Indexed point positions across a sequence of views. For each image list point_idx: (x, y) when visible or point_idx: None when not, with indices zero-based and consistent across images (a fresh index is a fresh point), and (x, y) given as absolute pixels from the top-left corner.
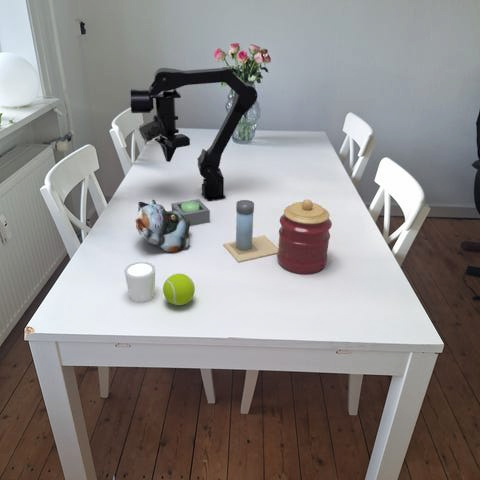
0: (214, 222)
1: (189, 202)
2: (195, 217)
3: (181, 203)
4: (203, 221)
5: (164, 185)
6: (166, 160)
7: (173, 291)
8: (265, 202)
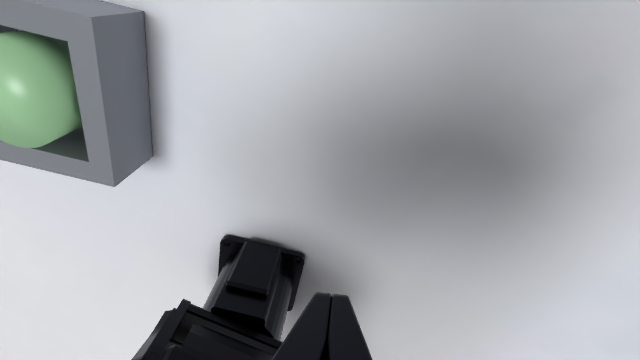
0: None
1: (34, 110)
2: None
3: (77, 76)
4: None
5: (528, 194)
6: (334, 302)
7: None
8: (141, 341)
